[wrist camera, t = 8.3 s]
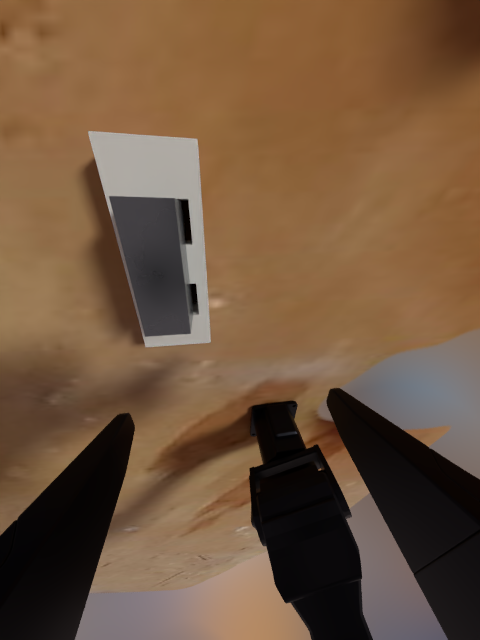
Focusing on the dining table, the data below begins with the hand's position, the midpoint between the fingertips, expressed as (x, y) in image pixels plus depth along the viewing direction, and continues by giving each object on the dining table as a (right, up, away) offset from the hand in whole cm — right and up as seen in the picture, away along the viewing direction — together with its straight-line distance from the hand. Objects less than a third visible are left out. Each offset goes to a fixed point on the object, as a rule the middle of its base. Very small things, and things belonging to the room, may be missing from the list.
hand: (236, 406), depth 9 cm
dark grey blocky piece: (-5, +9, +7) cm, 13 cm away
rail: (-6, +9, +7) cm, 13 cm away
